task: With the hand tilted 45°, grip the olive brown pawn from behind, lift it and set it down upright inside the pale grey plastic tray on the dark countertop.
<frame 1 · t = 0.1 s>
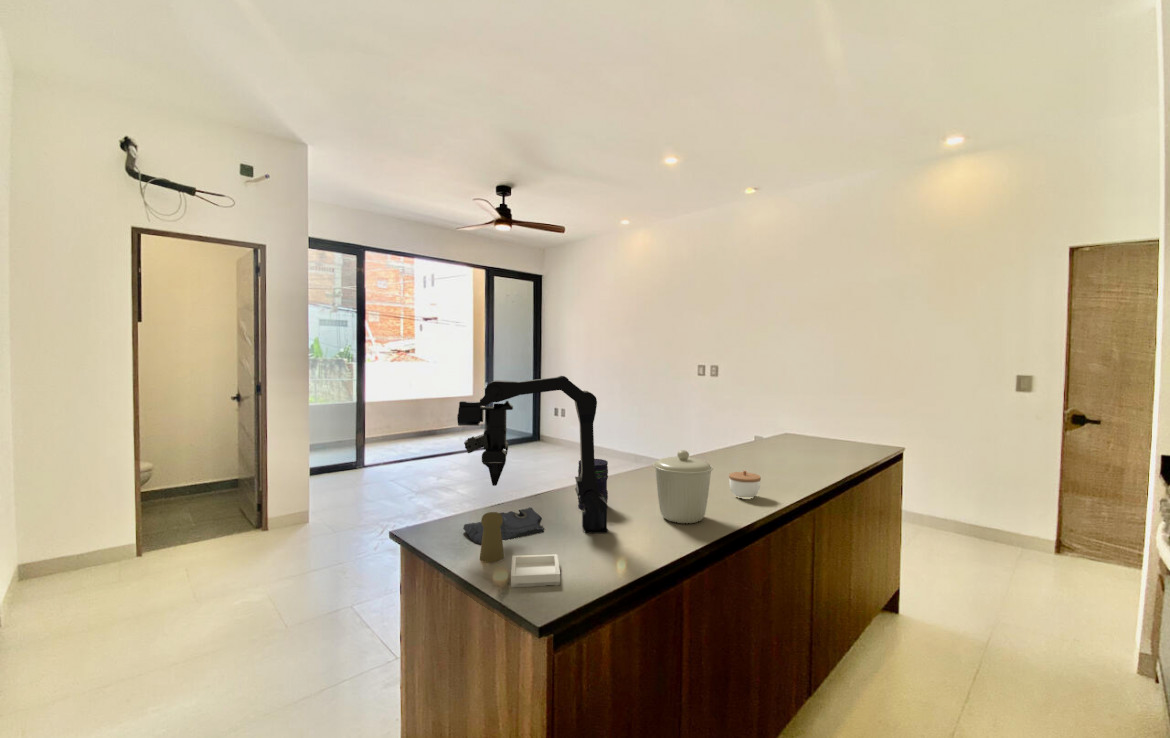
hand: (495, 481, 138), 15 cm above the table, tool pointing down, fingers open, 9 cm apart
tray: (535, 575, 112), on the table
lidded jar: (744, 497, 175), on the table
canister: (682, 519, 152), on the table
dark slate chunk: (504, 532, 141), on the table
storage jar: (592, 507, 163), on the table
olive brown pawn: (492, 558, 122), on the table
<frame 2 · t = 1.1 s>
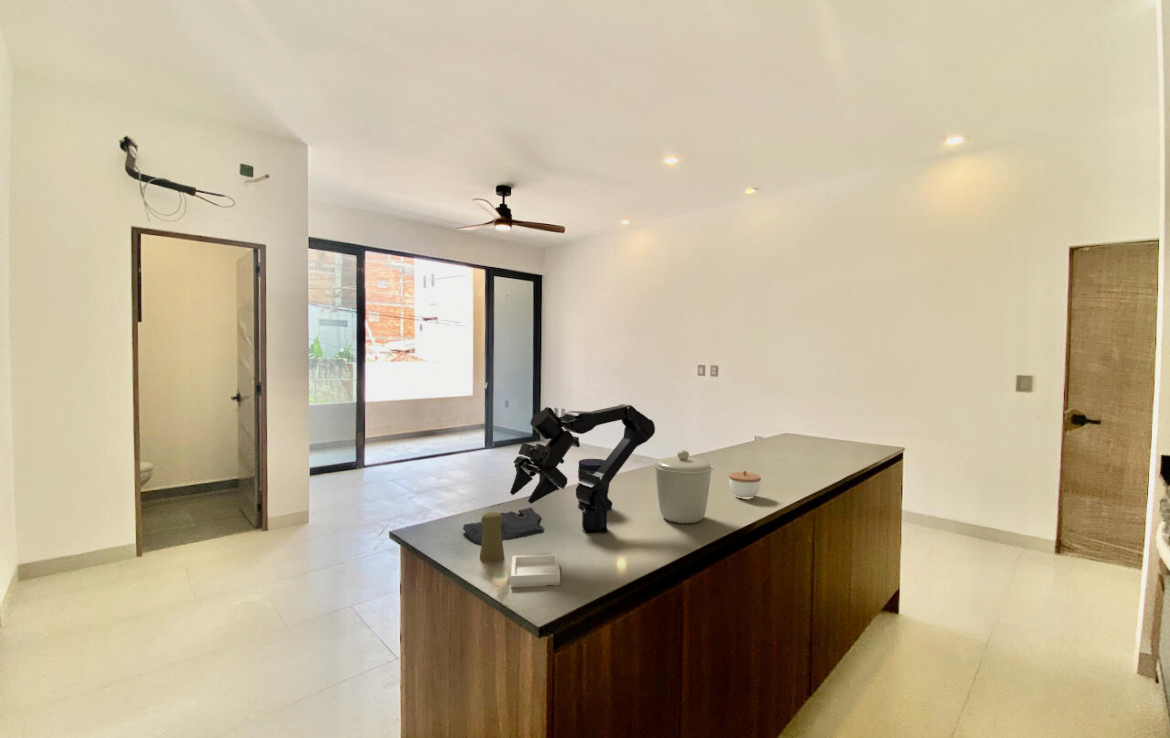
hand: (520, 498, 127), 13 cm above the table, tool tilted 45°, fingers open, 9 cm apart
nothing on the table moved.
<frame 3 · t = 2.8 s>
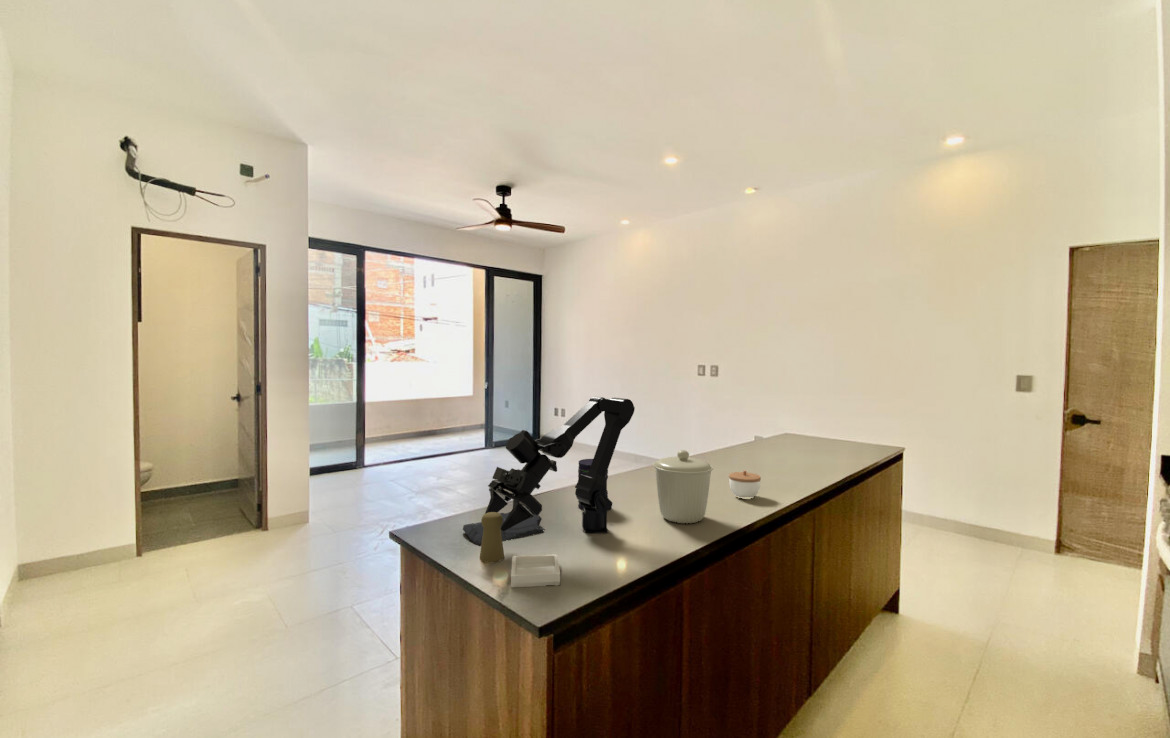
hand: (492, 525, 122), 8 cm above the table, tool tilted 45°, fingers open, 9 cm apart
nothing on the table moved.
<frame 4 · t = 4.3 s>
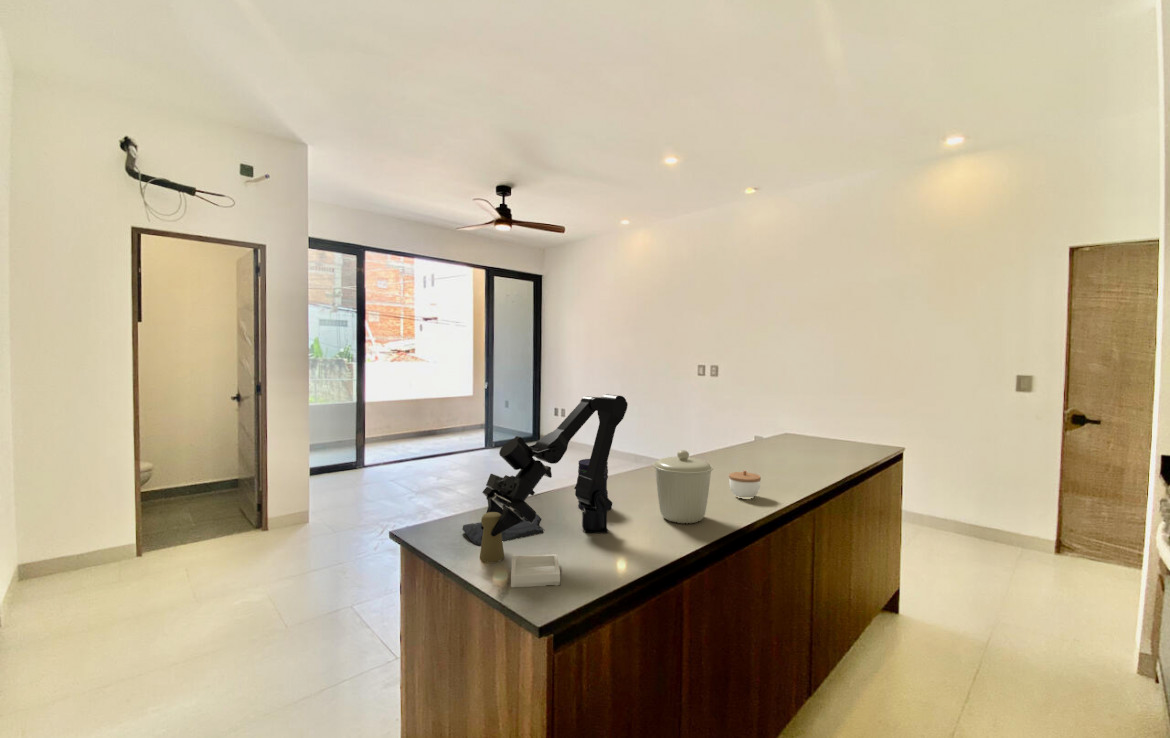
hand: (486, 532, 121), 7 cm above the table, tool tilted 45°, fingers closed on olive brown pawn, 5 cm apart
olive brown pawn: (492, 558, 122), on the table, touching gripper
everything else where it was.
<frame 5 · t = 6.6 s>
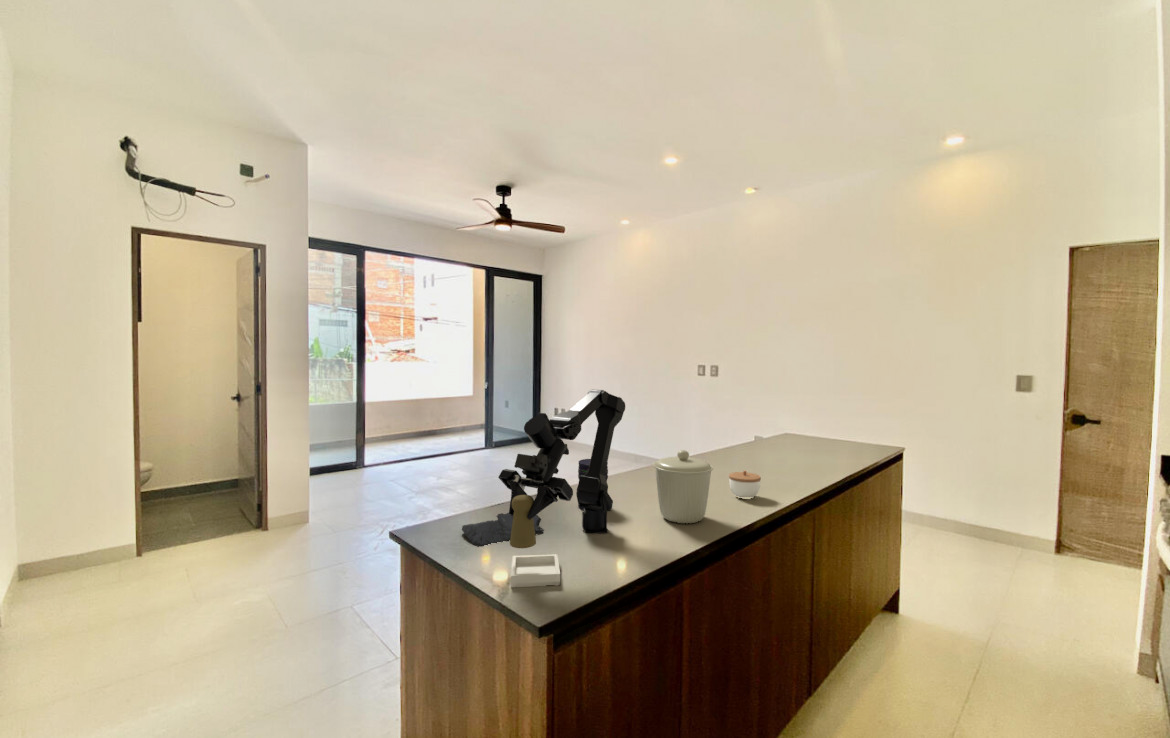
hand: (519, 516, 113), 13 cm above the table, tool tilted 45°, fingers closed on olive brown pawn, 5 cm apart
olive brown pawn: (523, 543, 114), point 6 cm above the table, touching gripper
when the fingers open (9 cm above the table, at t = 8.8 s): olive brown pawn drops 1 cm, resting on tray.
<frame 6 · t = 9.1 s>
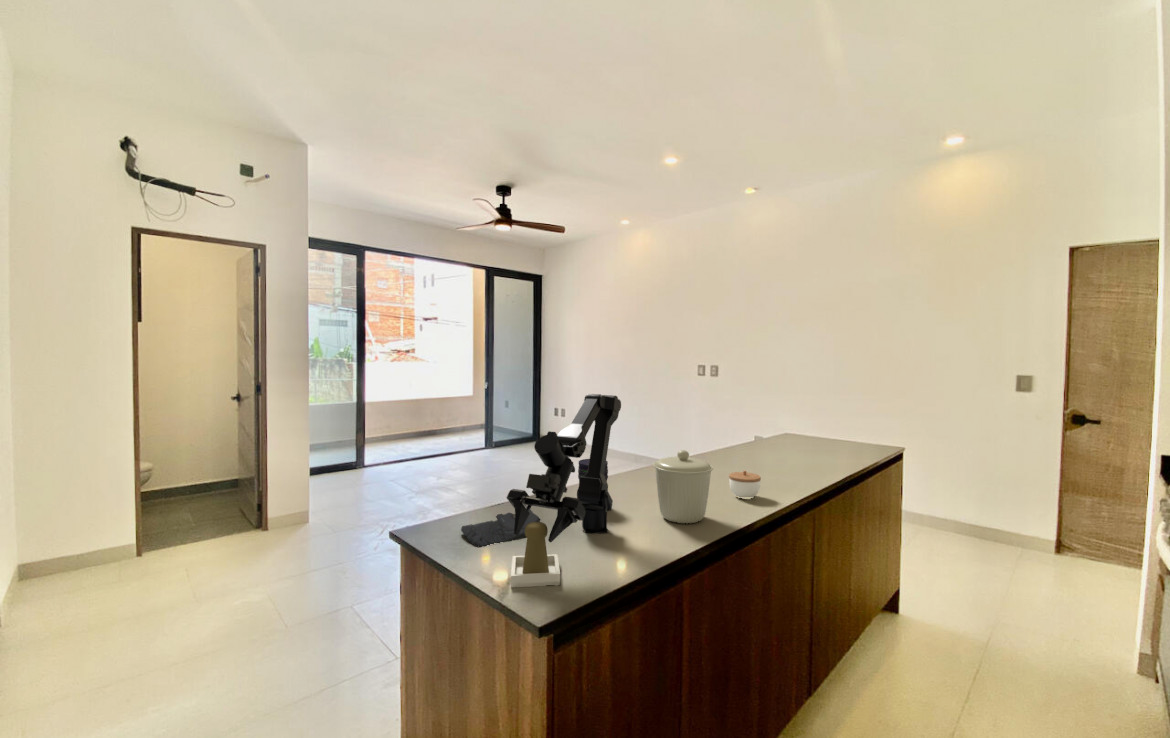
hand: (532, 538, 111), 9 cm above the table, tool tilted 45°, fingers open, 9 cm apart
olive brown pawn: (535, 572, 112), point 1 cm above the table, touching tray
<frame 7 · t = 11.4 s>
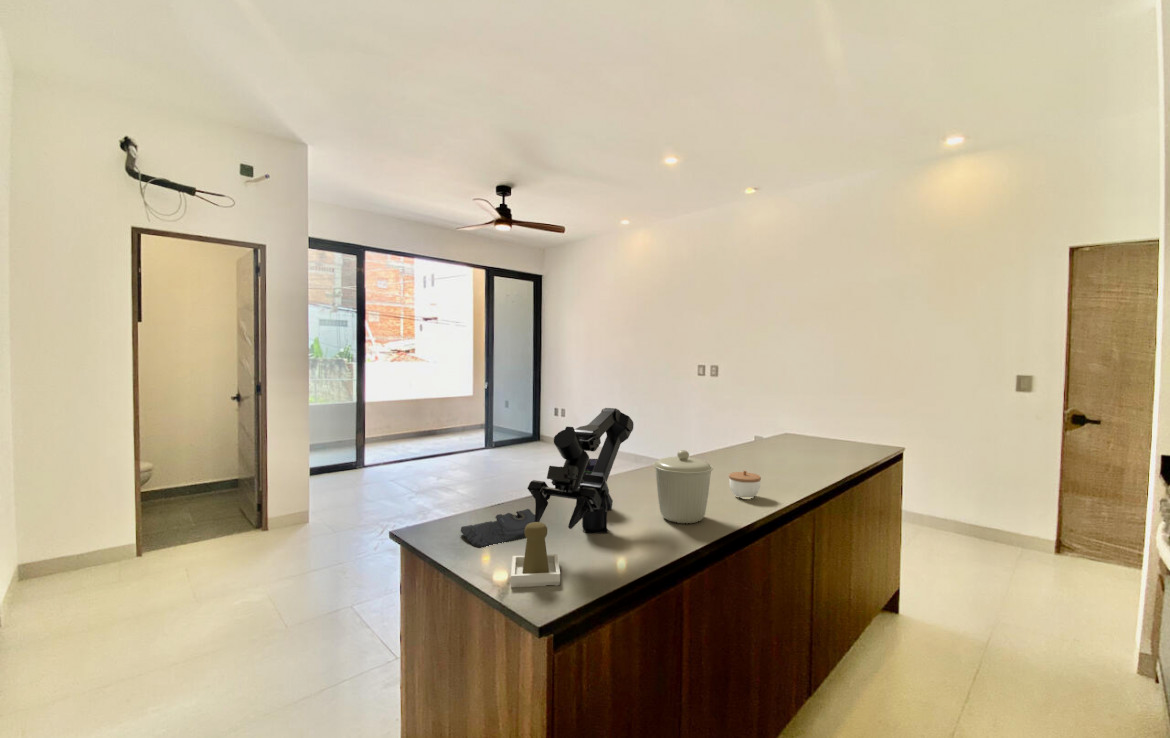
hand: (552, 525, 119), 9 cm above the table, tool tilted 45°, fingers open, 9 cm apart
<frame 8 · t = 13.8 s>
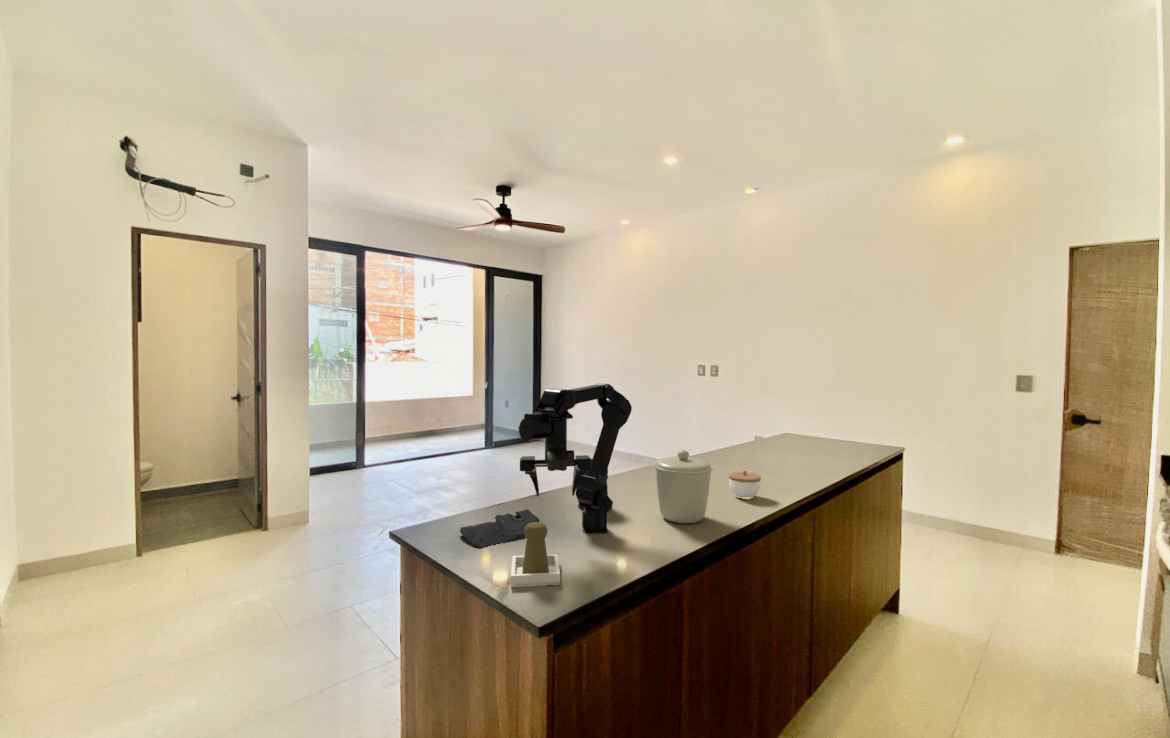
hand: (555, 495, 130), 13 cm above the table, tool pointing down, fingers open, 9 cm apart
at the end: olive brown pawn 0.2 cm off-centre on the tray, point 0.6 cm above the tray's base; olive brown pawn tilted 0°; the gripper is holding nothing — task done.
